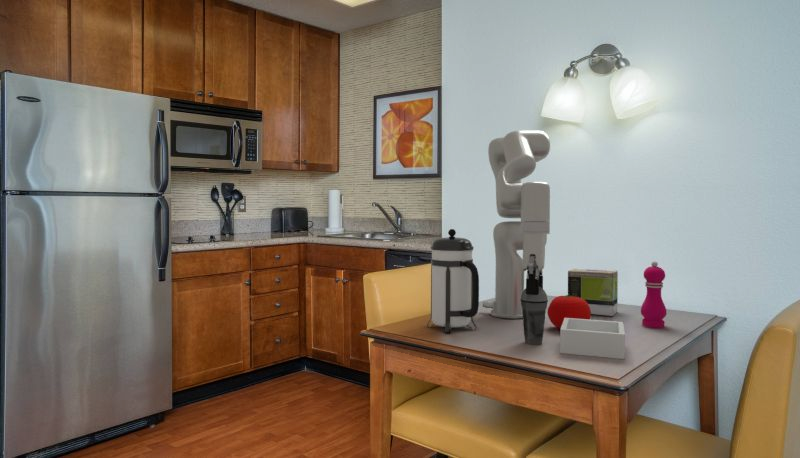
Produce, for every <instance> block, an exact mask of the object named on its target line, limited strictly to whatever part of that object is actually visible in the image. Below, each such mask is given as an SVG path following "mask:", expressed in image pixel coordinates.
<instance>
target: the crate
mask: <svg viewBox="0 0 800 458" xmlns="http://www.w3.org/2000/svg"><path fill="white" fill-rule="evenodd" d="M559 329H560V328H559ZM559 343H560V344H559V354H564V355H565V354H566V355H576V356H577V355H578V356H587V357H599V358H608V359H620V360H625V356H626V353H625V352H626V351H625V350H626V348H625V347H626V332H625V326H624V321H614V320H613V321H612V320H600V319H590V320H589V319H575V318H564V321H563V324H562V326H561V329H560V336H559Z"/></svg>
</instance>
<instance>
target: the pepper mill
mask: <svg viewBox="0 0 800 458" xmlns="http://www.w3.org/2000/svg"><path fill="white" fill-rule="evenodd" d="M658 265H659V263H658V262H657V261H652V262H651V266H648V267H646V268H645V270H644V271H643V278H644V279H645V280H646V281H645V282H644V283H645V285H644V286H645V287H646V296H645V298H644V300H643V302H642V304H641V307H640V314H641V316H642V317H643V318H642V319H641V325H642V327H646V328H651V329H663V328H665V324H666V323H665V321H664V318H665V317H666V316H667V314H668V313H667V309H666V305H665V303H664V301H663V298H662V289H663V287H664V286H663V285H664V283H663V281H664V280H665V278H666V272H665V270H664V269H663V268H662V267H660V266H658Z"/></svg>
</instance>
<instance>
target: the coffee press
mask: <svg viewBox="0 0 800 458" xmlns="http://www.w3.org/2000/svg"><path fill="white" fill-rule="evenodd" d="M456 233H457V232H456V230H455V229H454V228H453V229H452V228H450V229H449V230H448V235H449V236H448V237H438V238H436V239H435V240H434V241H433V242H432V244H431V246H430V250H431V258H430V319H429V321H428V322H427V323H426V326H427V327H428V328H432V327H433V326H435V325H436V326H437V327H438V326H439V327H443V328H444V334H451V329H452V328H463V327H468V328H469V329H470V330H472V331H476V329H477V325H476V323H475V322H474V317H476V315H478V314H477V313H478V310H479V304H480V303H479V302H480V279H479V271H478V267H477V266H476V265H475V264H474V258H473V251H474V246H473V244H472V242H471V241H470V240H469V239H468V238H464V237H456ZM430 322H432V323H433V324H432V325H429V323H430ZM471 323H472V324H473V326H474V327H475V328H473V327H472V326H471V325H470V324H471Z"/></svg>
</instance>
